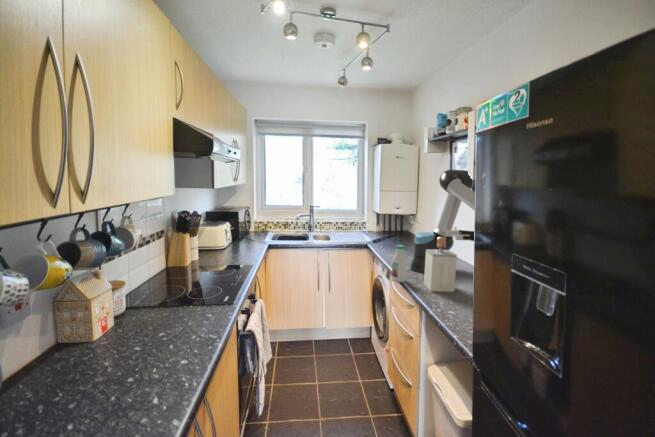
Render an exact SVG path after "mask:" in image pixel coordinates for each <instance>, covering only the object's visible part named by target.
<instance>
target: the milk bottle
mask: <svg viewBox="0 0 655 437" xmlns="http://www.w3.org/2000/svg"><path fill="white" fill-rule="evenodd" d="M405 247H406V246H405V245H402V244H398V245H396V246H395V253H394V256H393V258H392V266H391V281H392V282H394V283H405V282H406V281H407V257H406V255H405V250H406V249H405Z"/></svg>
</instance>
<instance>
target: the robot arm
mask: <svg viewBox="0 0 655 437" xmlns="http://www.w3.org/2000/svg"><path fill="white" fill-rule="evenodd" d="M468 171H469V170H465V169H447V170H444V171H443V172H442V173H441V175H440V176H439V186H440V187H441V188H442V189H443V190H444V191H445V192H446V193H447V196H446V200H445V201H444V205H443V208H442V211H441V214H440V218H439V221H438V224H437V227H436V228H434V229H433V232H429V231H426V232H418V233H417V234H415V236H414V240H413V241H414V242H413V243H414V245H413V257H412V261H411V263H410V267H409V269H410V270H411V271H413V272H415V273H420V274H421V273H422V274H425V258H426V249H436V250H439V248H440V247H437V237H446V248H443V250H449V251H451V249H452V248H453V246H454V242H455V241H454V237H455V240H456V241H470V242H474V230H473V231H472V230H461V229H457V230H452V229H453V226H454V224H455V221H456V218H457V215H458V212H459V210H460V206H461V203H462V202H463V203H464V204H466V206H468V207H469V208H471V209H472V210H474V211H475V193H476V192H475V191H474V190H473V189H472V188H474V186H475V183H476V180H475V181H474V180H472V179H471V178H470V176H469V175H468Z"/></svg>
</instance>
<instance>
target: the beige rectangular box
mask: <svg viewBox="0 0 655 437" xmlns="http://www.w3.org/2000/svg"><path fill="white" fill-rule="evenodd" d="M457 257H458V256H457V253H454V252H453V251H451V250H443V252H442V253H439V250H436V249H426V258H425V273H423V274H424V276H423V279H424V280H423V284H424V286H425V287H426V288H427V289H428V290H429V291H430V292H444V293H445V292H449V293H451V292H452V293H454V292H455V285H456V272H457V259H458V258H457Z"/></svg>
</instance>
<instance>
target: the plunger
mask: <svg viewBox="0 0 655 437" xmlns="http://www.w3.org/2000/svg"><path fill="white" fill-rule="evenodd" d="M437 247H440V248H439V253H442V252H443V248H446V237H437Z"/></svg>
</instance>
